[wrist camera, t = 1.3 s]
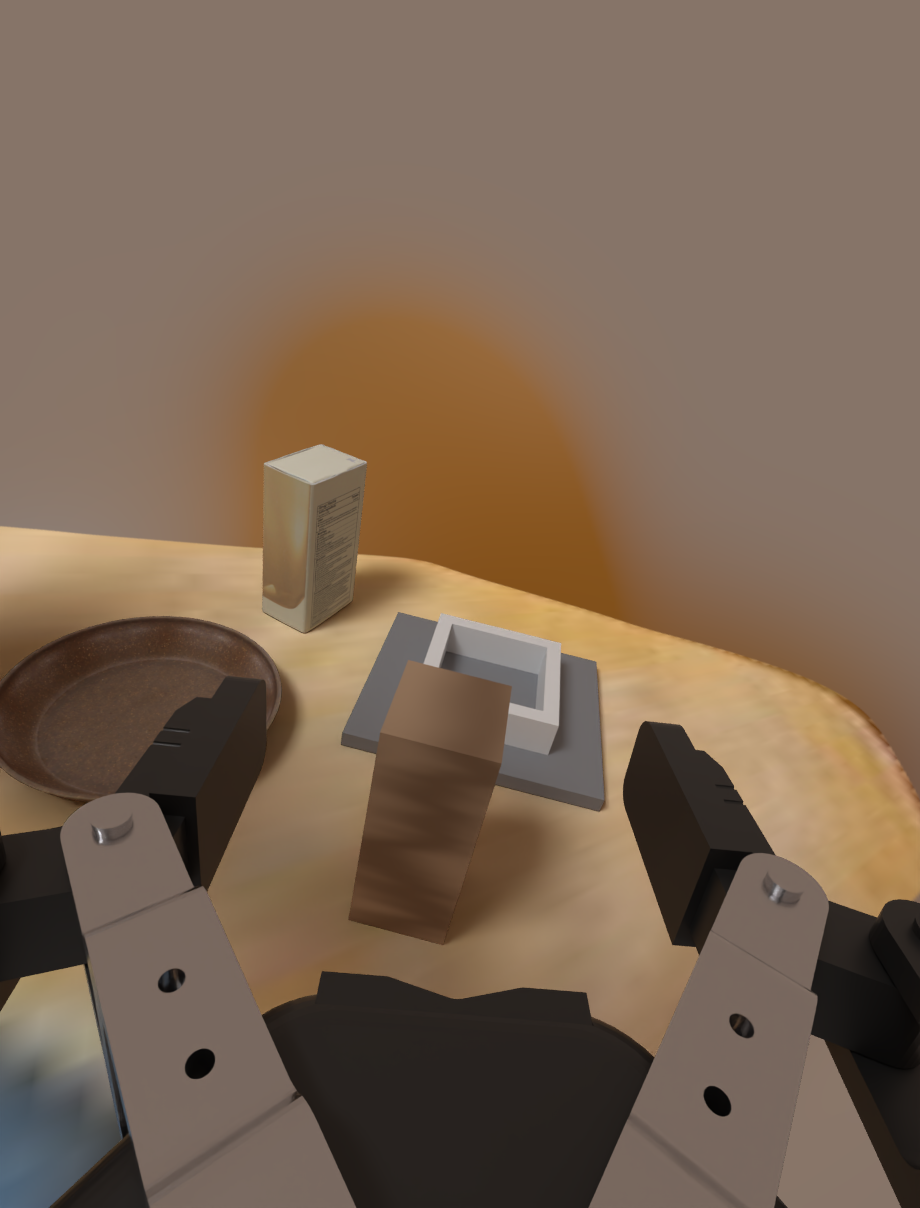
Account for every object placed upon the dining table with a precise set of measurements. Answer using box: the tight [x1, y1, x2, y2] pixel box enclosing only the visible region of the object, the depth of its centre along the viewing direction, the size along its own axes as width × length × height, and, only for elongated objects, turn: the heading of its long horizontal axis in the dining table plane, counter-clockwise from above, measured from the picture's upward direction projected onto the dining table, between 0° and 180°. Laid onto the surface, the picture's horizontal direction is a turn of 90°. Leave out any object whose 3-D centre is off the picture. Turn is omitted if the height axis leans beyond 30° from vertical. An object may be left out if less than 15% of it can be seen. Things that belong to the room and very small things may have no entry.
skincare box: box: [262, 445, 367, 633], centre depth 45 cm, size 6×4×12 cm
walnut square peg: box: [349, 660, 512, 945], centre depth 27 cm, size 4×4×12 cm
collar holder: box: [341, 612, 604, 811], centre depth 42 cm, size 16×14×4 cm
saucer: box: [0, 616, 282, 802], centre depth 35 cm, size 15×15×3 cm
